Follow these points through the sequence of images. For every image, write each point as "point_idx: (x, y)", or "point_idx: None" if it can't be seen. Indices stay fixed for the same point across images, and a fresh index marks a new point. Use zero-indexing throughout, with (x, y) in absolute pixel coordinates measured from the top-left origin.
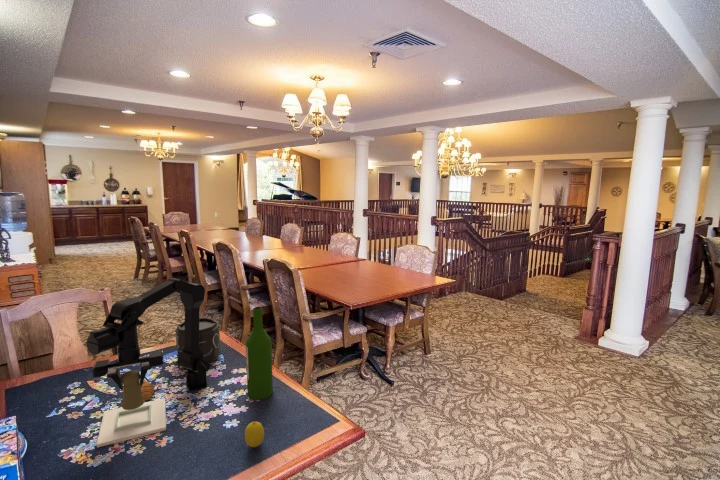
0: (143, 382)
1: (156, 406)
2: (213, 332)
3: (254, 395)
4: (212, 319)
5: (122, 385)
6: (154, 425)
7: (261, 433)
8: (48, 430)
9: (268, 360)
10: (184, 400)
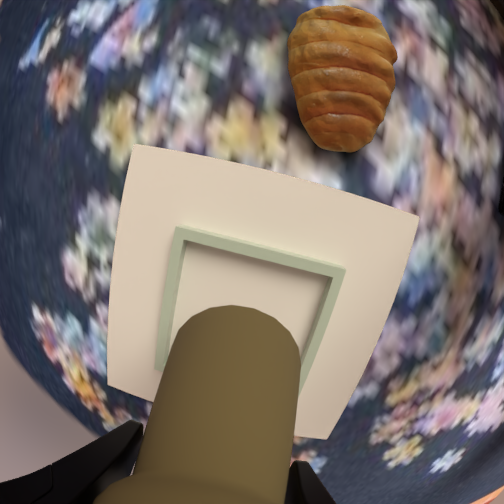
0: (358, 17)
1: (362, 277)
2: None
3: None
4: None
5: (123, 474)
6: (299, 414)
7: None
8: (5, 157)
9: None
10: (463, 277)
